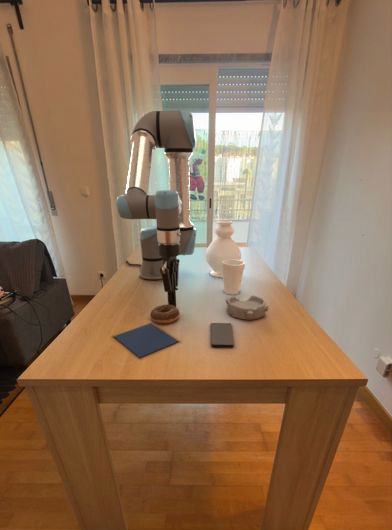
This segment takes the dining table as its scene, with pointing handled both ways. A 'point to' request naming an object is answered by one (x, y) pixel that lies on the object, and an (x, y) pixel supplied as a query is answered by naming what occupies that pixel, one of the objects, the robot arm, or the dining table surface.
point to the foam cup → (232, 275)
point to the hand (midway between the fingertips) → (172, 307)
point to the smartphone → (221, 335)
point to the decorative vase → (222, 248)
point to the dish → (247, 307)
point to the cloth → (145, 340)
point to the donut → (164, 313)
